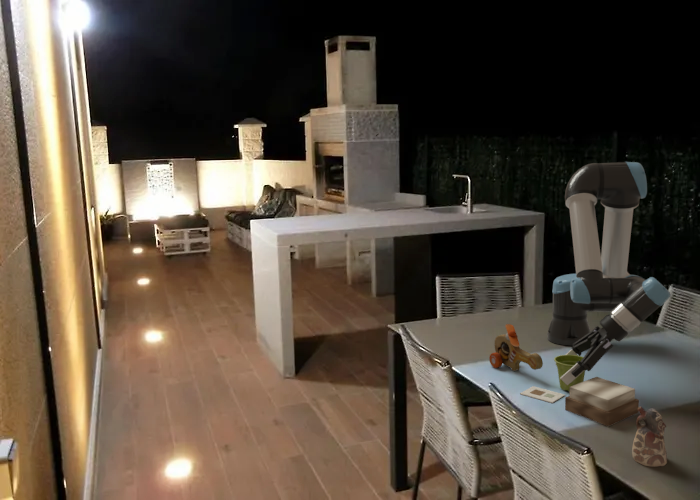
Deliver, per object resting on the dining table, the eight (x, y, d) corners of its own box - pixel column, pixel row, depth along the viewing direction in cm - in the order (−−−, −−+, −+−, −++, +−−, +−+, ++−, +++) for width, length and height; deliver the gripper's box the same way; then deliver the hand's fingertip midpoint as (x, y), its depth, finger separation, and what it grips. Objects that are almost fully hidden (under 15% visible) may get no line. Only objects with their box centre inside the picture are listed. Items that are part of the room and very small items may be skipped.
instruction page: (520, 394, 183) (520, 392, 183) (533, 387, 188) (533, 385, 188) (552, 403, 176) (552, 401, 176) (564, 395, 180) (564, 394, 180)
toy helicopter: (506, 360, 211) (506, 319, 209) (551, 379, 193) (551, 335, 191) (486, 364, 208) (486, 323, 206) (530, 384, 189) (530, 340, 187)
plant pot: (548, 383, 190) (549, 355, 188) (579, 381, 190) (580, 353, 189) (561, 395, 180) (562, 366, 179) (594, 393, 181) (594, 364, 180)
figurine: (661, 470, 139) (663, 418, 137) (627, 460, 143) (628, 410, 141) (670, 457, 144) (673, 407, 142) (638, 448, 148) (639, 399, 146)
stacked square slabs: (565, 409, 171) (565, 386, 170) (595, 397, 178) (595, 375, 177) (608, 426, 160) (608, 401, 159) (638, 412, 167) (639, 388, 166)
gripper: (639, 345, 168) (576, 399, 174) (620, 320, 191) (565, 368, 196) (618, 325, 168) (556, 380, 174) (601, 303, 191) (547, 352, 197)
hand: (561, 374), depth 185 cm, fingers open, 11 cm apart
